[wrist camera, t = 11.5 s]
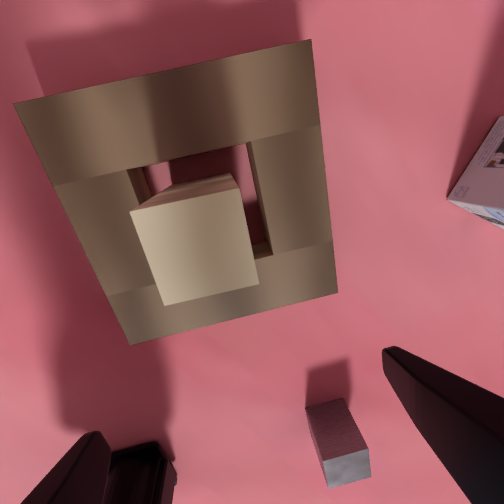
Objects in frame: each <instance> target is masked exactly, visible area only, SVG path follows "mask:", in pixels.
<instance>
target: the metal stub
mask: <svg viewBox="0 0 504 504" xmlns="http://www.w3.org/2000/svg"><path fill="white" fill-rule="evenodd" d="M305 410H306V415H307V420H308V424H309V429H310V434H311V437H312V440H313V443H314V446H315V449H316V452H317V455H318V458H319V461H320V464H321V468H322V471H323V474H324V477H325V480H326V483H327V486H328V489H330V488H334V487H337V486H341V485H344V484H348V483H351V482H355V481H358V480H362V479H365V478H369V477H371V469H370V459H369V449H368V447H367V445H366V443H365V441H364V439H363V437H362V435H361V433H360V431H359V429H358V427H357V425H356V423H355V421H354V419H353V417H352V415H351V413H350V411H349V409H348V407H347V405H346V403H345V401H344V399H343V398H340V399H337V400H333V401H329V402H326V403H322V404H319V405H315V406H311V407H308V408H305Z"/></svg>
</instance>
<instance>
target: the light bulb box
mask: <svg viewBox="0 0 504 504" xmlns="http://www.w3.org/2000/svg"><path fill="white" fill-rule="evenodd" d="M447 200H448V201H450V202H452V203H454V204H455V205H457V206H459V207H461V208H463V209H465V210H467V211H469V212H471V213H473V214H475V215H476V216H478V217H480V218H482V219H484V220H486V221H488V222H490V223H492V224H494V225H496V226H498V227H500V228H502V229H504V116H500V117H499V118H498V120H497V121H496V123H495V125H494V126H493V128H492V129H491V131H490V132H489V134H488V135H487V137H486V139H485V140H484V142H483V143H482V145H481V146H480V148H479V149H478V151H477V152H476V154H475V156H474V157H473V159H472V160H471V162H470V163H469V165H468V167H467V168H466V170H465V171H464V173H463V174H462V176H461V178H460V179H459V181H458V182H457V184H456V185H455V187H454V188H453V190H452V191H451V193H450V195H449V196H448V198H447Z"/></svg>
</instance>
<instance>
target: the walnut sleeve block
mask: <svg viewBox="0 0 504 504" xmlns="http://www.w3.org/2000/svg"><path fill="white" fill-rule="evenodd" d="M13 105H14V107H15V109H16V111H17V114H18V116H19V118H20V120H21V122H22V124H23V126H24V128H25V130H26V132H27V134H28V136H29V138H30V140H31V142H32V144H33V147H34V149H35V151H36V153H37V155H38V157H39V159H40V161H41V163H42V165H43V167H44V169H45V171H46V173H47V175H48V177H49V180H50V182H51V184H52V186H53V188H54V190H55V192H56V194H57V196H58V198H59V200H60V202H61V204H62V206H63V208H64V210H65V212H66V215H67V217H68V219H69V221H70V223H71V225H72V227H73V229H74V231H75V233H76V235H77V237H78V239H79V241H80V243H81V245H82V248H83V250H84V252H85V254H86V256H87V258H88V260H89V262H90V264H91V266H92V268H93V270H94V272H95V274H96V276H97V278H98V281H99V283H100V285H101V287H102V289H103V291H104V293H105V295H106V297H107V299H108V301H109V303H110V305H111V307H112V309H113V311H114V314H115V316H116V318H117V320H118V322H119V324H120V326H121V328H122V330H123V332H124V334H125V336H126V338H127V340H128V342H129V344H130V345H133V344H137V343H141V342H145V341H149V340H153V339H157V338H161V337H165V336H169V335H173V334H177V333H181V332H185V331H189V330H193V329H197V328H200V327H204V326H208V325H212V324H216V323H220V322H224V321H228V320H232V319H236V318H240V317H244V316H248V315H252V314H256V313H260V312H264V311H268V310H272V309H275V308H279V307H283V306H287V305H291V304H295V303H299V302H303V301H307V300H311V299H315V298H319V297H323V296H327V295H331V294H335V293H338V286H337V277H336V268H335V258H334V249H333V239H332V230H331V220H330V211H329V202H328V192H327V183H326V173H325V164H324V154H323V145H322V136H321V126H320V117H319V107H318V98H317V88H316V79H315V69H314V60H313V51H312V41H311V39H308V40H304V41H299V42H294V43H290V44H285V45H281V46H276V47H271V48H267V49H262V50H258V51H253V52H248V53H244V54H239V55H235V56H230V57H225V58H221V59H216V60H212V61H207V62H202V63H198V64H193V65H189V66H184V67H179V68H175V69H170V70H166V71H161V72H156V73H152V74H147V75H143V76H138V77H133V78H129V79H124V80H120V81H115V82H110V83H106V84H101V85H97V86H92V87H87V88H83V89H78V90H74V91H69V92H64V93H60V94H55V95H51V96H46V97H41V98H37V99H32V100H28V101H23V102H18V103H14V104H13ZM244 143H246V147H247V152H248V157H249V161H250V166H251V171H252V176H253V181H254V186H255V191H256V195H257V200H258V205H259V210H260V215H261V220H262V225H263V229H264V234H265V239H266V241H264V242H260V243H256V244H252V245H251V247H252V251H253V256H254V261H255V266H256V271H257V275H258V280H259V284H257V285H253V286H249V287H244V288H240V289H236V290H232V291H227V292H223V293H219V294H214V295H210V296H206V297H201V298H197V299H193V300H188V301H184V302H180V303H175V304H171V305H167V306H164V303H163V301H162V298H161V295H160V293H159V290H158V287H157V285H156V282H155V279H154V277H153V274H152V271H151V269H150V266H149V263H148V260H147V258H146V255H145V252H144V250H143V247H142V244H141V242H140V239H139V236H138V234H137V231H136V228H135V226H134V223H133V220H132V217H131V215H130V211H131V210H133V209H134V208H136V207H138V206H139V205H141V204H142V203H144V202H145V201H147V200H149V199H150V198H152V196H151V193H150V190H149V188H148V185H147V182H146V179H145V176H144V173H143V171H142V168H141V167H144V166H149V165H153V164H157V163H162V162H166V161H170V160H175V159H179V158H183V157H188V156H192V155H197V154H201V153H205V152H210V151H214V150H218V149H223V148H227V147H231V146H236V145H240V144H244Z"/></svg>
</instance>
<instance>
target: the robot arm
mask: <svg viewBox="0 0 504 504" xmlns="http://www.w3.org/2000/svg"><path fill="white" fill-rule="evenodd" d="M382 362H383V371H384V373H385V376H386V377H387V379H388V381H389V383H390V384H391V386H392V388H393V389H394V391H395V393H396V394H397V396H398V398H399V399H400V401H401V403H402V404H403V406H404V408H405V409H406V411H407V413H408V414H409V416H410V418H411V419H412V421H413V423H414V424H415V426H416V427H417V429H418V430H419V432H420V433H421V435H422V436H423V437H424V439H425V440H426V441H427V443H428V444H429V446H430V447H431V448H432V450H433V451H434V452H435V454H436V455H437V457H438V458H439V459H440V461H441V462H442V463H443V465H444V466H445V468H446V469H447V470H448V472H449V473H450V475H451V476H452V477H453V479H454V480H455V481H456V483H457V484H458V486H459V487H460V488H461V490H462V491H463V492H464V494H465V495H466V497H467V498H468V499H469V501H470V502H471V504H504V398H503V397H501V396H498V395H496V394H494V393H492V392H490V391H488V390H486V389H484V388H482V387H480V386H478V385H476V384H474V383H472V382H470V381H468V380H465V379H463V378H461V377H459V376H457V375H455V374H453V373H451V372H449V371H447V370H445V369H443V368H441V367H439V366H437V365H434V364H432V363H430V362H428V361H426V360H424V359H422V358H420V357H418V356H416V355H414V354H412V353H410V352H408V351H406V350H403V349H401V348H399V347H397V346H391V347H388V348H384V349H383V350H382ZM176 484H177V477H176V473H175V471H174V469H173V467H172V466H171V464H170V462H169V460H168V459H167V458H166V456H165V454H164V452H163V450H162V448H161V446H160V444H159V443H158V442H151V443H147V444H144V445H140V446H136V447H132V448H129V449H125V450H121V451H117V452H114V453H111V448H110V446H109V444H108V443H107V441H106V440H105V438H104V437H103V435H102V433H101V432H100V431H93V432H90V433H86V434H84V435H83V436H82V437H81V438H80V439H79V440H78V441H77V442H76V443H75V444H74V445H73V446H72V447H71V449H70V450H69V451H68V452H67V453H66V454H65V455H64V456H63V457H62V458H61V460H60V461H59V462H58V463H57V464H56V465H55V466H54V467H53V468H52V469H51V471H50V472H49V473H48V474H47V475H46V476H45V477H44V478H43V479H42V480H41V482H40V483H39V484H38V485H37V486H36V487H35V488H34V489H33V490H32V492H31V493H30V494H29V495H28V496H27V497H26V498H25V499H24V500H23V501H22V503H21V504H172V500H173V492H174V486H175V485H176Z"/></svg>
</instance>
